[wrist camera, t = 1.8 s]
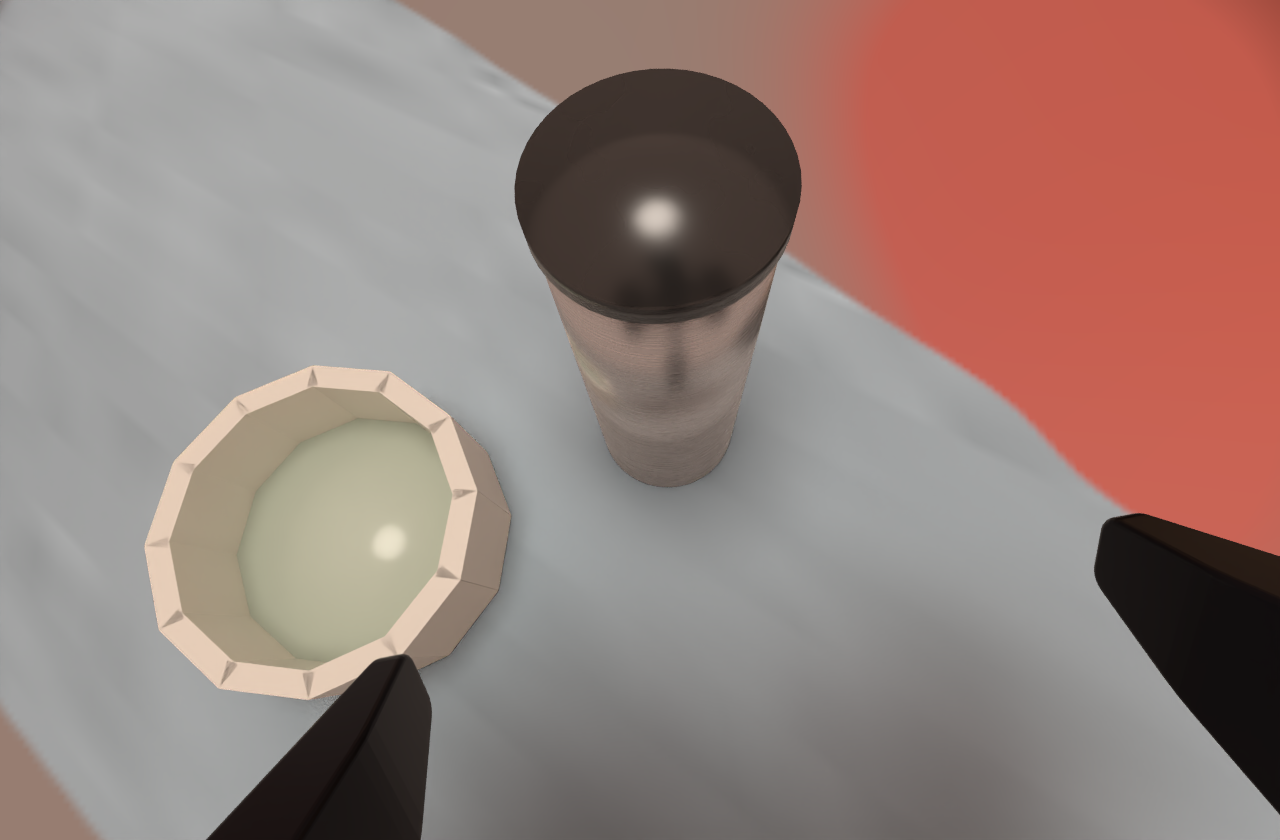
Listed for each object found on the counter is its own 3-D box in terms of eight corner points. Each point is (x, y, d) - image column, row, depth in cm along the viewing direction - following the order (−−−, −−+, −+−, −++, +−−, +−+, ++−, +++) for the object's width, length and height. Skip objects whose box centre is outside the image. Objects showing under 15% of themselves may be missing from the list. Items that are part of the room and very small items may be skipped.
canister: (758, 455, 22) (855, 234, 10) (633, 512, 22) (577, 353, 10) (699, 343, 24) (721, 33, 12) (580, 394, 24) (476, 128, 11)
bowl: (546, 610, 21) (518, 604, 17) (273, 735, 20) (180, 757, 17) (457, 372, 24) (416, 322, 20) (215, 474, 23) (126, 441, 20)
